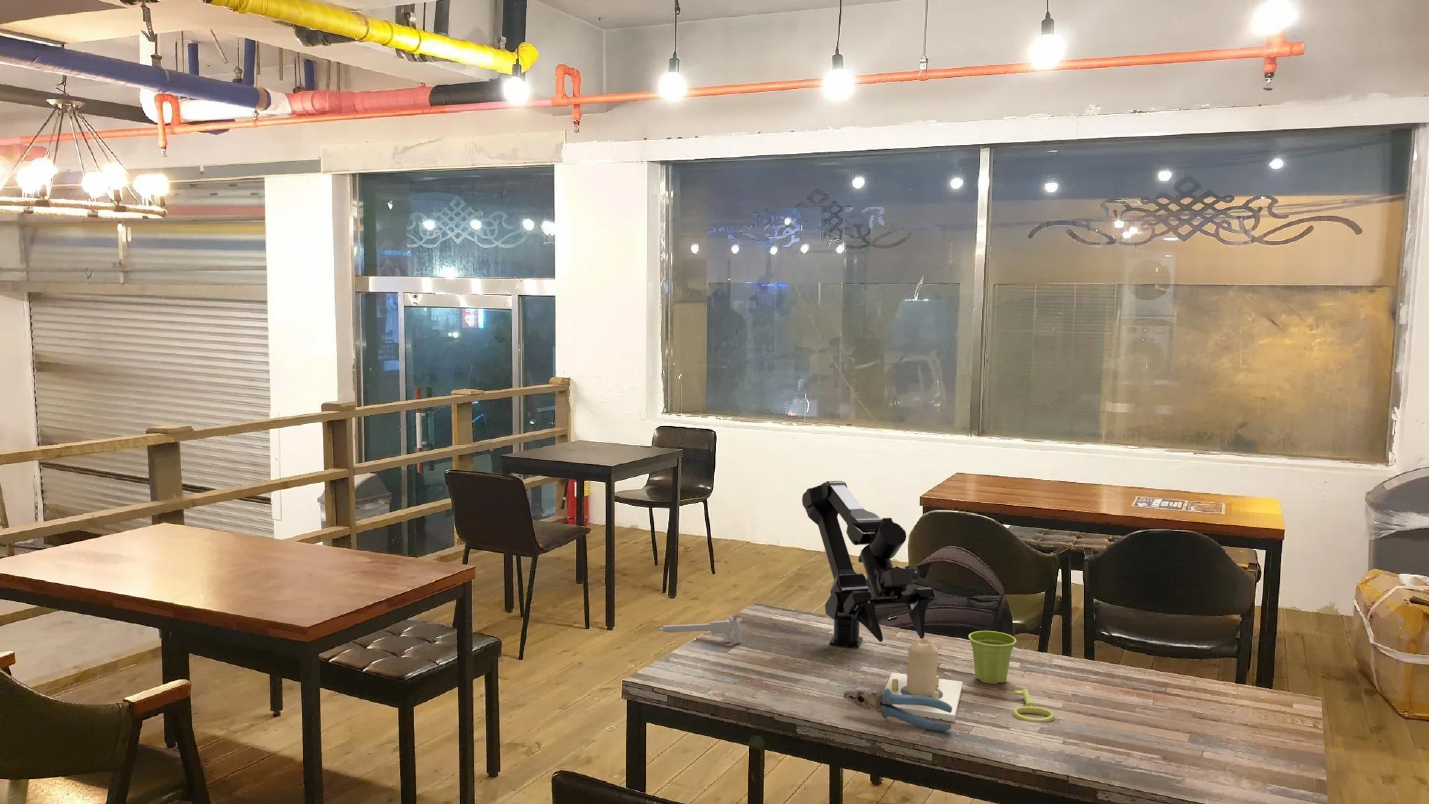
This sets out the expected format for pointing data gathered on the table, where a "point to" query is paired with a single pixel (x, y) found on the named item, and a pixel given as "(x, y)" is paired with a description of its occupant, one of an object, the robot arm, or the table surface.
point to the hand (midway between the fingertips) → (902, 639)
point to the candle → (922, 668)
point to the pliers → (887, 709)
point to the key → (1031, 709)
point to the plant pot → (991, 655)
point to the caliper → (710, 628)
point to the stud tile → (944, 692)
